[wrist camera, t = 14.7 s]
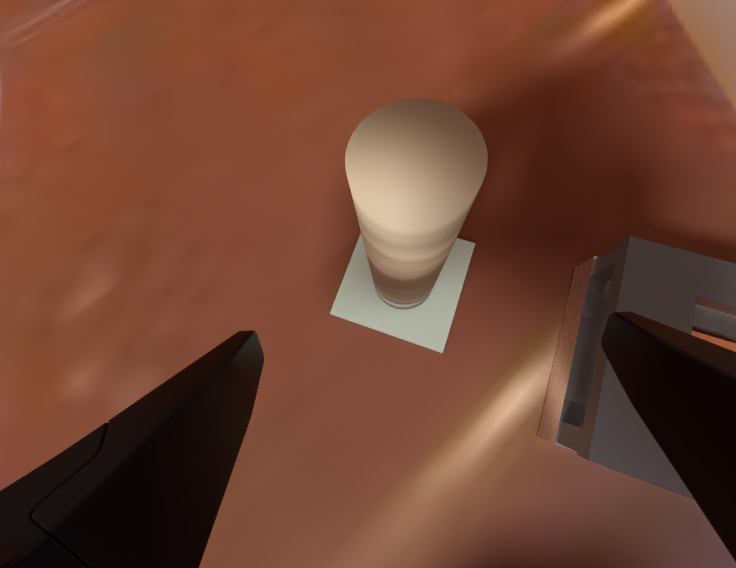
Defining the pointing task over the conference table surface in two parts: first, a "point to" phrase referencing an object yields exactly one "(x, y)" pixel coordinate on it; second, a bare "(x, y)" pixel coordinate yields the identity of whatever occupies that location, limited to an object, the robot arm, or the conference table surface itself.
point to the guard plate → (662, 304)
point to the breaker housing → (596, 348)
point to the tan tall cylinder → (413, 191)
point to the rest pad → (412, 325)
